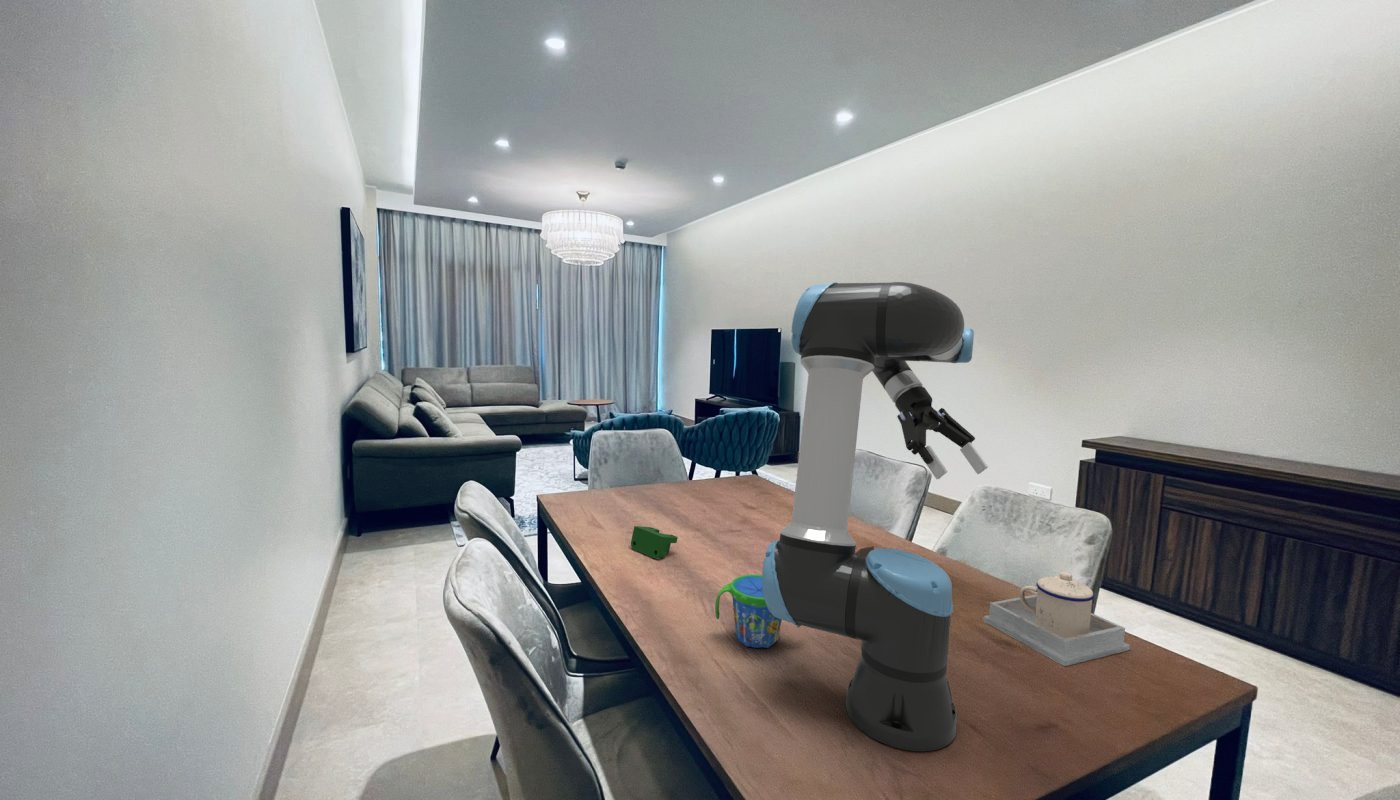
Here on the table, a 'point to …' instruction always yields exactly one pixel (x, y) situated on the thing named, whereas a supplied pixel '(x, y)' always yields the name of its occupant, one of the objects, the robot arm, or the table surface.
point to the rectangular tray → (1066, 651)
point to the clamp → (651, 541)
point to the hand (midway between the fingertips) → (963, 473)
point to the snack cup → (751, 612)
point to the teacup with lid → (1061, 605)
